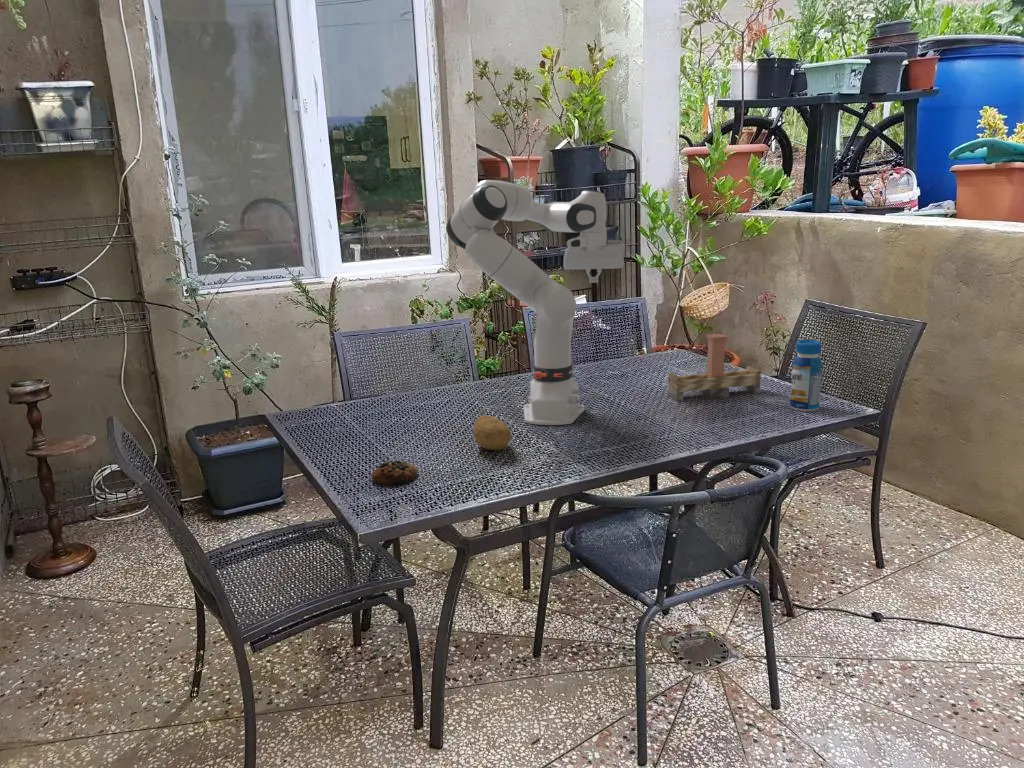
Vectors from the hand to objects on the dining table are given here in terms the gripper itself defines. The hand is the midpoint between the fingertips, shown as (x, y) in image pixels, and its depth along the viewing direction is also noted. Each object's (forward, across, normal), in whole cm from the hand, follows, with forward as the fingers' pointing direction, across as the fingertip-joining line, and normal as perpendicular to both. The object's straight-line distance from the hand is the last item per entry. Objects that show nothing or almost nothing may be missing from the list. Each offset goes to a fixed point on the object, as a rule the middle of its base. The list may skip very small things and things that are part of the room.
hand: (593, 282), depth 250 cm
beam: (+34, -38, +19) cm, 54 cm away
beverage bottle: (+34, -61, +34) cm, 78 cm away
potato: (+34, +28, +68) cm, 81 cm away
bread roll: (+35, +49, +88) cm, 106 cm away
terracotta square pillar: (+29, -38, +19) cm, 51 cm away
